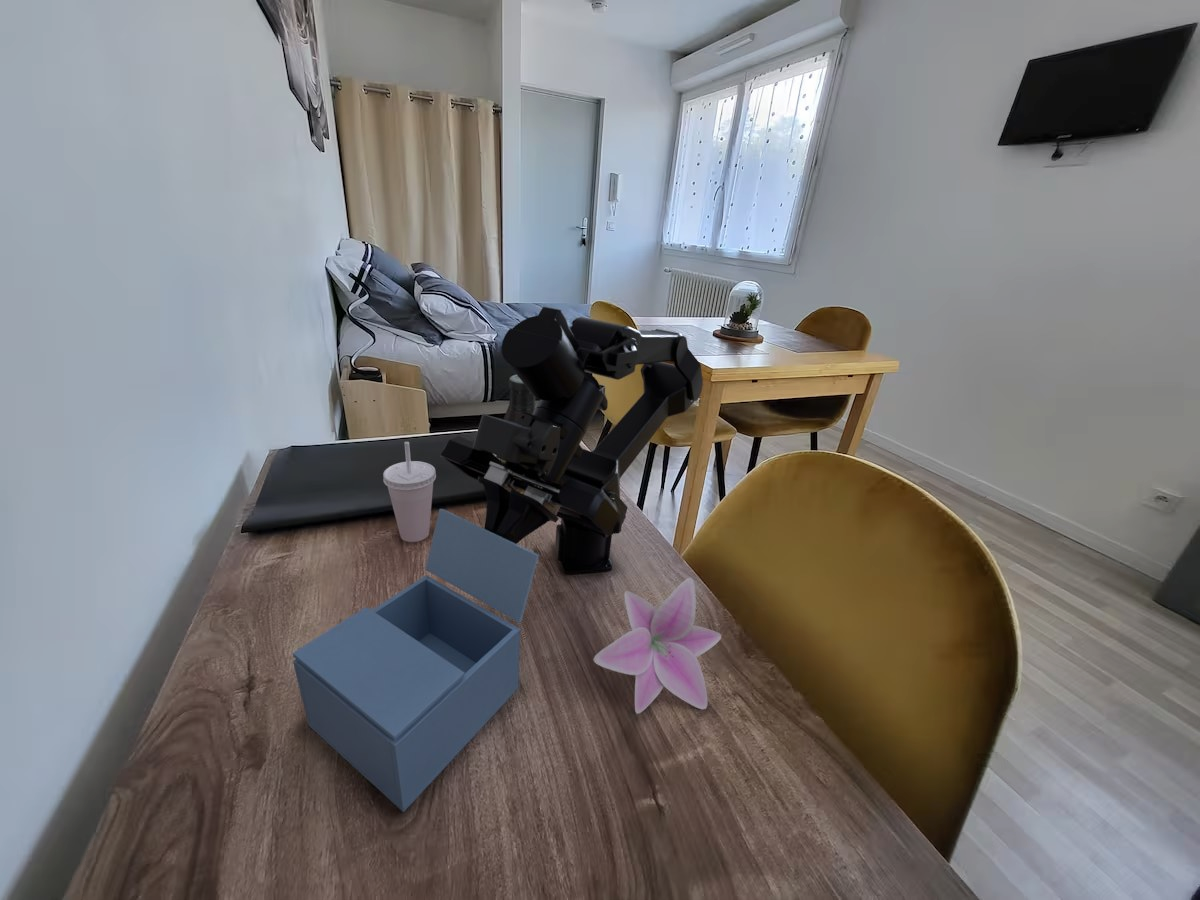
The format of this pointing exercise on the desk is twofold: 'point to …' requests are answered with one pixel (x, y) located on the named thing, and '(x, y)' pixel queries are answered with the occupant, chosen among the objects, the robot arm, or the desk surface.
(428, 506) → the smoothie
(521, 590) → the flap
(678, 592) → the lily
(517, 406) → the sauce bottle
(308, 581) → the desk surface
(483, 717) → the carton
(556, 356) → the robot arm
